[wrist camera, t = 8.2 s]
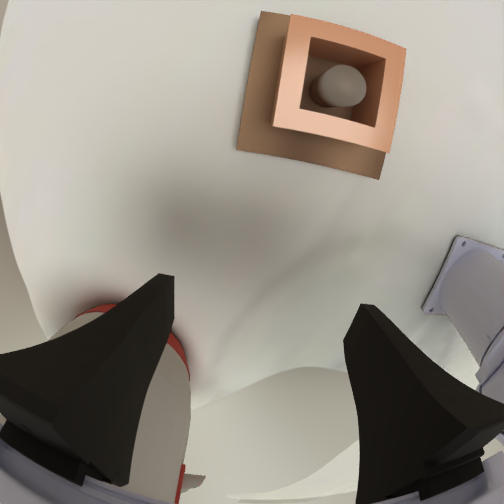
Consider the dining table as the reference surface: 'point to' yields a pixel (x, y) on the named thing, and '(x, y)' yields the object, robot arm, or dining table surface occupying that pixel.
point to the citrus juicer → (157, 423)
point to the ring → (348, 53)
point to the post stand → (302, 106)
